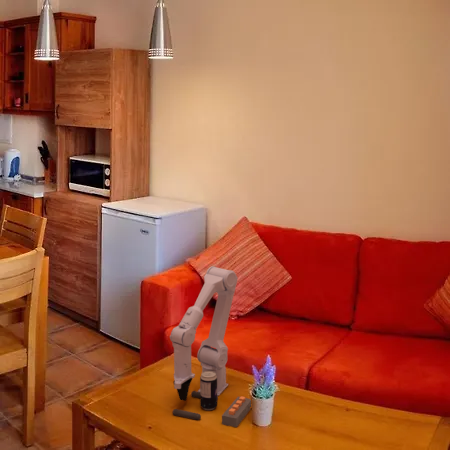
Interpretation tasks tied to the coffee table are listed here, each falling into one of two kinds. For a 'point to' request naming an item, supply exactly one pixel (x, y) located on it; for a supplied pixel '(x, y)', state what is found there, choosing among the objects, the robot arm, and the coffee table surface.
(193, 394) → the cord
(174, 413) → the cord
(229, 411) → the breaker strip
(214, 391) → the beverage can
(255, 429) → the coffee table surface
